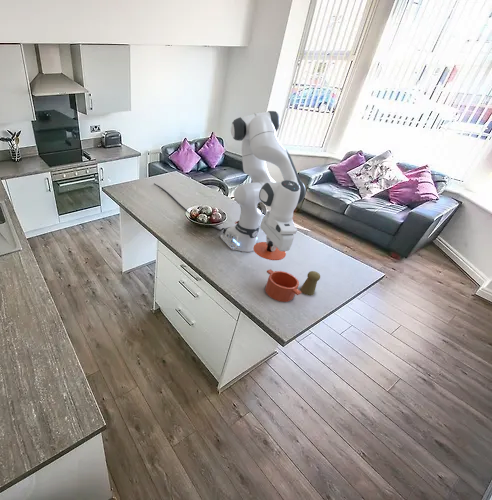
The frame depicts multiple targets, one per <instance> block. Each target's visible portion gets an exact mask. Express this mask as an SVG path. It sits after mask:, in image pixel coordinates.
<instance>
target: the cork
mask: <svg viewBox="0 0 492 500" xmlns="http://www.w3.org/2000/svg"><path fill="white" fill-rule="evenodd" d="M320 280H321V274H320V272H317V271H314V270H311V271H309V272H308V273H307V275H306V279H305V281H304V282H303V284H302V285H301V287H300V289H299V290H300V291H301V292H302V293H301V294H304V296H305V295H306V296H314V295H315V293H316V292H315V291H316V288H317V284H318V281H320Z"/></svg>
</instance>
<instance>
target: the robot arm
mask: <svg viewBox="0 0 492 500" xmlns="http://www.w3.org/2000/svg"><path fill="white" fill-rule="evenodd" d="M280 123H281V120H280V116H279V113H278V112H277V111H275V110H268V111H263V112H262V111H261V112H256V113H255V112H254V113H253V114H248V115H245V116H242V117H237V118H235V119H233V121H232V122H231V126H230V133H231V136H232V139H233V140H235V141H239V142H241V159H242V161H241V162H242V170H243V173H244V174H245V175H247V176H249V178H250V179H251V182H246V183H243V184H240V185H238V186H237V187H236V188H235V189H234V191H233V199H234V201H235V202H236V204H238V205H239V208H240V215H239V219H238V220H237V221H235V222H234V224H235V225H233V226H227V227H222V228H217V227H216V226H214V225H213V226H211V228H213V229H215V230H217V231H219V232H222V233H221V234H220V236H219V238H220V239H221V240H222V241H223V242H224V243H225V245H227V247H229V249H230V250H232V251H239V252H243V253H250V252H254V250H253V247H254V245H255V244H256V243H258V242H257V240H258V234H259V231H260V230H261V231H262V232H263V233H264V234H265V235H266V236H265V239H266V240H265V242H266V245H267V246H268V243H269V241H272V242H273V246H271V247H270V250H271V251H275V250H276V248H278V249H279V251H285V252H288V251H289V250H291V247H292V245H293V242H294V239H295V236H294V235H295V234H296V233H297V231H298V229H297V227H296V225H295V222H294V219H293V218H294V211H295V210H296V209H297V206H298V205H300V203H301V202H302V201H304V199H305V198H306V195H307V190H306V186H305V184H304V182H303V181H302V180H301V178H300V176H299V174H298V171H297V168H296V165H295V164H294V161H293V159H292V156H291V155H290V152H289V151H288V150H287V148H285V147H284V146H283V145H282V143H280V141H279V138H278V137H277V136H278V135H277V133H276V132H277V131H278V130H279V128H280ZM267 163H271V164H273V165H274V166H276V167H277V168H278V169H279V171H280V173H281V176H282V178H283V180H282V181H275V180H274V179H273V178H272V176H271V174H270V173H269V170H268V167H267ZM153 185H154V186H157V187H158V188H160V189H161V190H162V191H164V192H165V193H166V194H167V195H168V196H169V197H171V199H172V200H174V202H175V203H176V204H178V205H179V207H181V208H182V209H183V210H184V211H185V212H187V210H188V209H186V208H185V207H184V206H183V205H182V204H181V203H180V202H179V201H178V200H177V199H176V198H175V197H173V195H171V193H169V192H168V191H167V190H165V189H164V187H162V186H160V185H158V184H156V183H155V182H154V183H153ZM259 203H262V204H263V205H265V206H266V207H270V210H268V211H266V212H265V215H264V216H263V213H262V211H261V210H260V208H258V205H259Z"/></svg>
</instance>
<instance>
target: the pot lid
mask: <svg viewBox="0 0 492 500" xmlns="http://www.w3.org/2000/svg"><path fill="white" fill-rule="evenodd" d="M266 242H267V241H260V242H256V244H255V245H254V247H253V250H254V251H253V252H254V253H255V255H257V256H258V257H261V258H262V259H265V260H269V261H281V260H283V259H285V257H286V256H287V253H286V252H287V251H279V249H278V248H276V250H275V251H271V250H270V247H271V246H273V242H272V241H269V243H268V246H267V245H266Z"/></svg>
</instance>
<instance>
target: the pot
mask: <svg viewBox="0 0 492 500" xmlns="http://www.w3.org/2000/svg"><path fill="white" fill-rule="evenodd" d="M266 273H267V274H268V279H267V281H266V285H265V287H264V289H265V294H266V295H267V296H268V297H269V298H271V299H272V300H275V301H276V302H281V303H288V302H291V301H292V300H294V298H295V296H299V295H302V294H303V293H302V292H301V290H300V289H298V288H299V286H300V281H299V280H298V278H297V277H296V276H294V275H293V274H292V273H289V272H287V271H282V270H274V271H273V270H272V269H271V268H270V269H267V270H266Z"/></svg>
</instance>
